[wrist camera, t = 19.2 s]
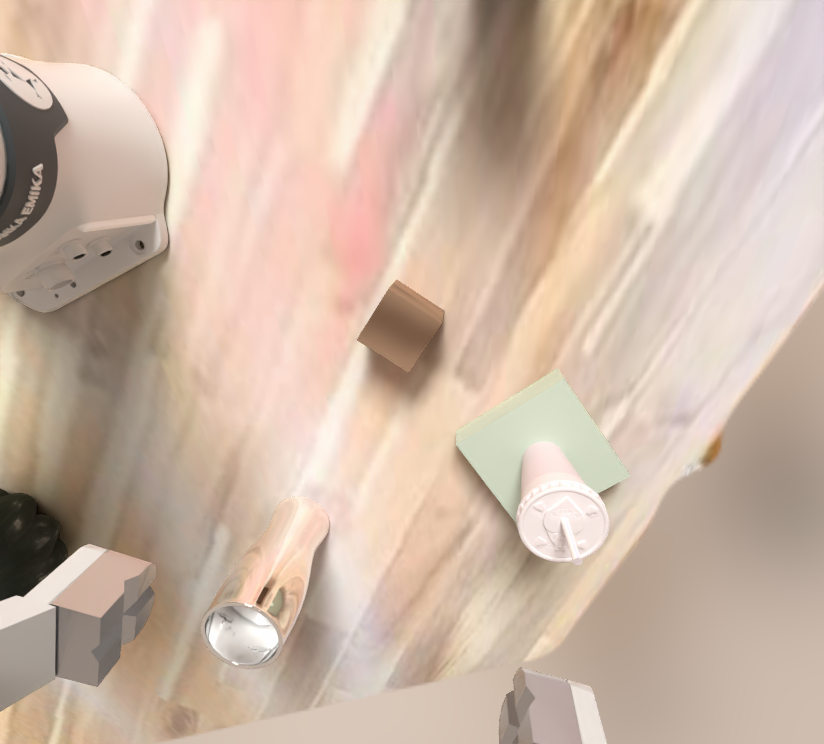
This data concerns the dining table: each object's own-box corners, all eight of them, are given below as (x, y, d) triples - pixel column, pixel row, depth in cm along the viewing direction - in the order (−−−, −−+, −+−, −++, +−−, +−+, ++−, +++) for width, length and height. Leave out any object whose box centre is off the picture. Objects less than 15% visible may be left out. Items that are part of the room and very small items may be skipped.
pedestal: (519, 514, 50) (523, 532, 47) (456, 430, 47) (455, 444, 45) (620, 459, 47) (630, 476, 44) (557, 368, 44) (564, 379, 42)
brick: (414, 355, 46) (408, 373, 41) (367, 325, 45) (356, 339, 40) (444, 310, 44) (442, 323, 39) (396, 279, 44) (388, 288, 39)
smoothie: (584, 429, 43) (638, 528, 30) (575, 494, 45) (622, 614, 32) (509, 425, 43) (528, 521, 30) (503, 489, 45) (519, 605, 32)
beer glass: (309, 559, 54) (254, 685, 40) (257, 522, 53) (181, 637, 39) (346, 519, 52) (302, 637, 38) (293, 479, 51) (226, 585, 37)
